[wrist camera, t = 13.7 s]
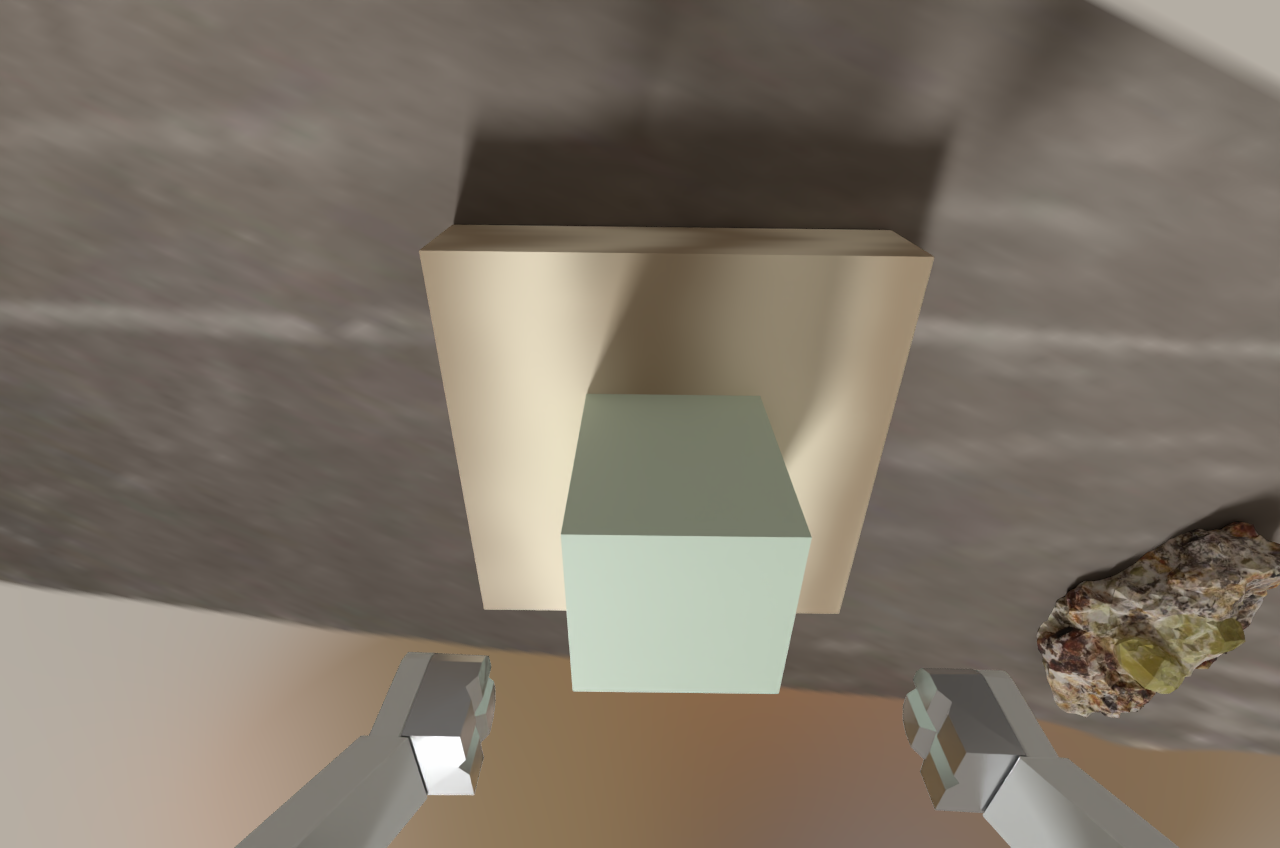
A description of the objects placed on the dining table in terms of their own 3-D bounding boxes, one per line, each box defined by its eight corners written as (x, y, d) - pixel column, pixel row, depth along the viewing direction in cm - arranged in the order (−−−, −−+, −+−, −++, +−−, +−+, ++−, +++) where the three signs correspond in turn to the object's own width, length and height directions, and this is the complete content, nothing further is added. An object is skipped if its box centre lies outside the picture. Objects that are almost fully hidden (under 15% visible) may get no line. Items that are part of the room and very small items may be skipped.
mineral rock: (1159, 743, 27) (1058, 751, 24) (1079, 661, 31) (981, 658, 27) (1379, 585, 22) (1291, 567, 19) (1254, 508, 26) (1162, 481, 22)
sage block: (760, 396, 17) (811, 537, 12) (742, 529, 19) (778, 694, 14) (586, 393, 17) (561, 534, 12) (592, 527, 19) (572, 691, 14)
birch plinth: (891, 229, 17) (934, 256, 15) (817, 555, 24) (838, 613, 21) (452, 224, 17) (419, 250, 15) (501, 551, 24) (484, 609, 21)
